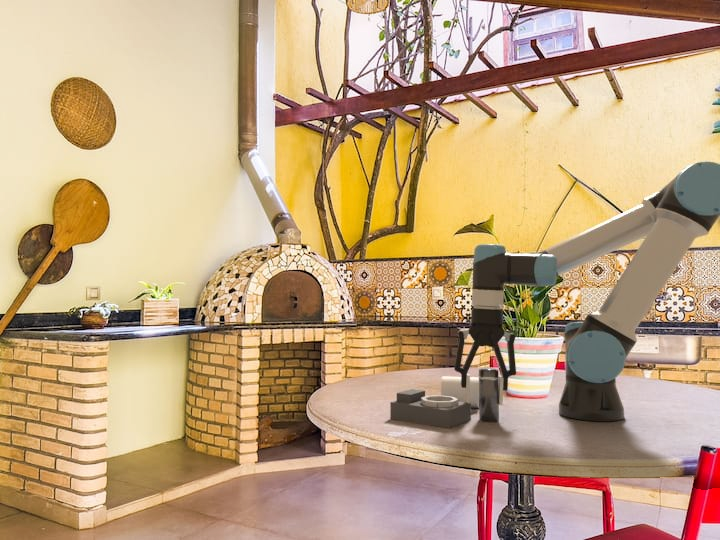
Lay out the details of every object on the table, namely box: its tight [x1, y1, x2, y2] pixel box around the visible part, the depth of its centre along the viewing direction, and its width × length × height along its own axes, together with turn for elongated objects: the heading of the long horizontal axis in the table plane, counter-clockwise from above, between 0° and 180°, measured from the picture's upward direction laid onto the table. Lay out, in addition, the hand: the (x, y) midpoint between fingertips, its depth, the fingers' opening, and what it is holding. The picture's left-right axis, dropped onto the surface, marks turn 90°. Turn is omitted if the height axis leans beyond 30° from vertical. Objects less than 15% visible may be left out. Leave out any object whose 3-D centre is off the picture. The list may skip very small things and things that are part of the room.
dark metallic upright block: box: [478, 367, 500, 423], centre depth 135 cm, size 5×5×12 cm
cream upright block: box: [440, 376, 479, 409], centre depth 153 cm, size 12×10×8 cm
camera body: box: [389, 388, 472, 429], centre depth 136 cm, size 16×11×6 cm
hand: (483, 402), depth 135 cm, fingers open, 7 cm apart
